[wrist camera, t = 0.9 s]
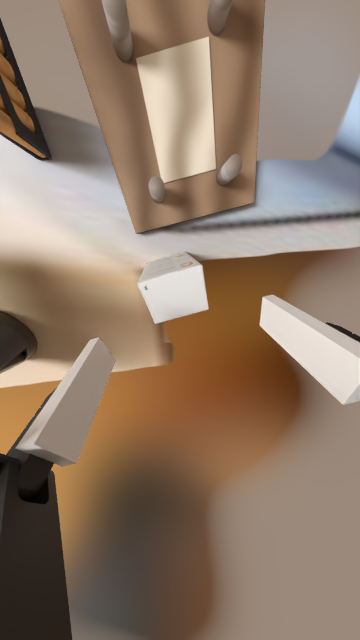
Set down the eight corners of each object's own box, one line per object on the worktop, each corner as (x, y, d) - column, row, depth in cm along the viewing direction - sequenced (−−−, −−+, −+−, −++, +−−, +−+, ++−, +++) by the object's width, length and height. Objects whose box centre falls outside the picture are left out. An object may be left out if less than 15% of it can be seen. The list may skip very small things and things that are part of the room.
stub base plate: (137, 233, 25) (131, 233, 20) (61, 2, 14) (10, -115, 9) (249, 204, 24) (269, 196, 19) (259, -61, 13) (311, -218, 9)
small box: (157, 292, 31) (153, 325, 20) (146, 262, 27) (135, 282, 16) (192, 282, 30) (209, 310, 19) (186, 250, 27) (202, 262, 16)
